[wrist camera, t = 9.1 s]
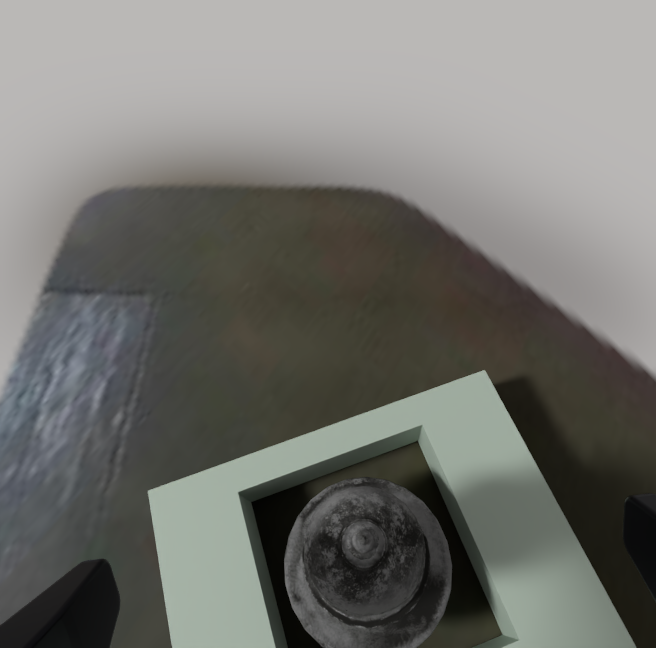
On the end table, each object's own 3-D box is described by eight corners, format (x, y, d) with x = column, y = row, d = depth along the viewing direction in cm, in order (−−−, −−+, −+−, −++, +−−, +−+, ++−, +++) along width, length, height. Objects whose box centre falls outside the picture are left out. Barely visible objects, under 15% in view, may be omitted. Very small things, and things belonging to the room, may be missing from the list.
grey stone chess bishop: (301, 492, 22) (237, 400, 12) (435, 494, 22) (493, 402, 11) (292, 648, 19) (198, 713, 9) (445, 655, 19) (536, 732, 8)
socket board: (701, 823, 16) (751, 858, 14) (261, 1028, 15) (243, 1103, 13) (474, 390, 24) (484, 370, 22) (169, 501, 23) (147, 490, 20)
